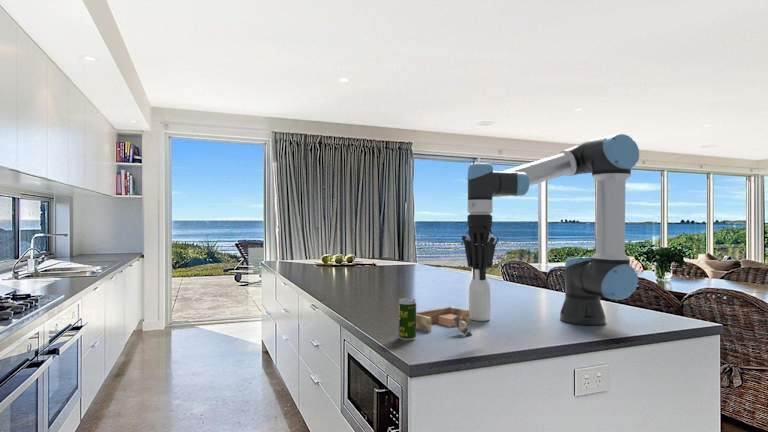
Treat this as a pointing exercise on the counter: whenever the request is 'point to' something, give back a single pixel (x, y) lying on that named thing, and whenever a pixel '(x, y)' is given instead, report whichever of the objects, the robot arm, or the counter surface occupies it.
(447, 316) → the tile
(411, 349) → the counter surface
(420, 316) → the frame
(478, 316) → the milk bottle
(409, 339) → the beer can
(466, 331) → the vase
